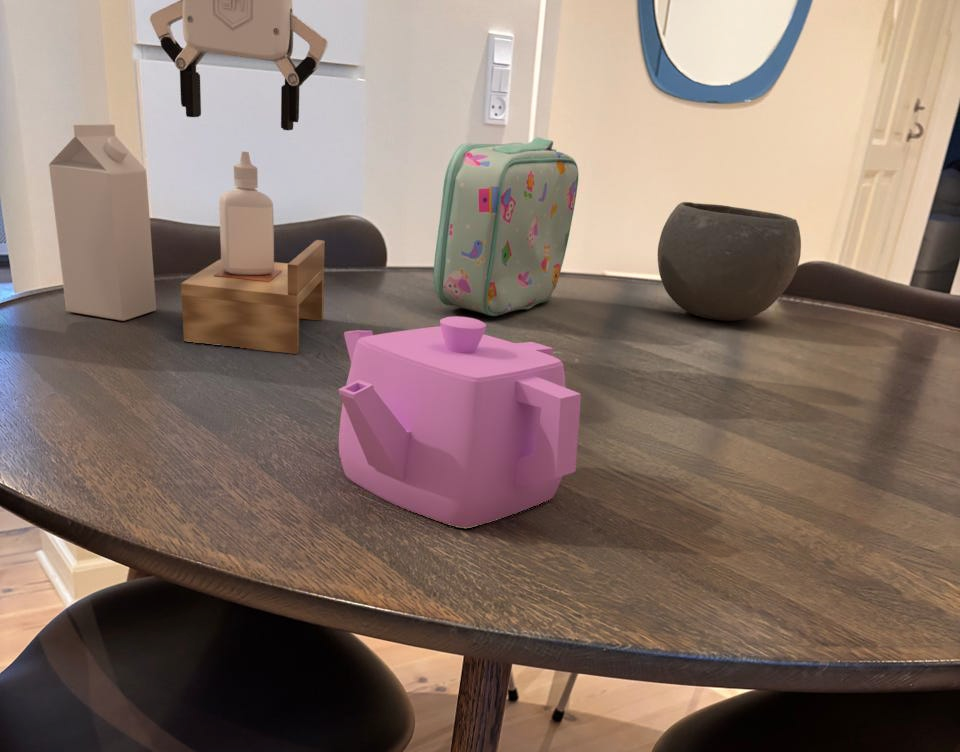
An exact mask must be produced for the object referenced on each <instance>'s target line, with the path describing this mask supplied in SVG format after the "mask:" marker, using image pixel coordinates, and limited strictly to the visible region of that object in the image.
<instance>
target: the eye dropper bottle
mask: <svg viewBox="0 0 960 752" xmlns="http://www.w3.org/2000/svg"><path fill="white" fill-rule="evenodd" d="M233 180H234V181H233V186H234V187H235V188H234V189H231V190H228V191H225V192H223V193H222V194H221V195H220V197H219V201H218V202H219V206H218V208H219V209H218V211H219V237H220V238H219V240H220V242H219V243H220V259H221V266H222V269H223V270H224V271H226V272H227V273H230V274H235V275H267V274H272V273H273V272H274V262H275V227H274V226H275V225H274V224H275V221H274V220H275V218H274V216H275V215H274V203H273V201H272V199H271V197H270V196H268V195H266V194H265V193H263V192H261V191H259V190H257V189H258V187H259V186H258V185H259V182H258V167H257V166H255V165H254V164H253V163H252V162H251V156H250V153H249V151H241V155H240V161H239V162H238V163H236V164H234V165H233Z"/></svg>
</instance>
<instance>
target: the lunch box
mask: <svg viewBox="0 0 960 752" xmlns="http://www.w3.org/2000/svg"><path fill="white" fill-rule="evenodd" d="M553 145H554V140H550V139H545V138H541V137H539V136H535V137H534V138H533V139H532V140H531V141H530V142H527V143H523V142H509V143H473V142H467V143H461V144H459V145H458V146H457V148H456V149H455V151H454V152H453V154H452V156H451V157H450V160H449V162H448V165H447V167H446V171H445V175H444V176H445V177H444V180H443V187H442V198H441V205H440V213H439V214H440V215H439V223H438V231H437V235H436V236H437V237H436V245H435V254H434V261H433V262H434V263H433V285H434V291H435V294H436V297H437V298H438V300H439V301H440V302H441V303H442V304H444V305H446V306H453V307H457V308H460V309H463V310H467V311H472V312H475V313H476V312H477V313H481V314H484V315H486V316H490V317H497V316H500V315H501V316H502V315H504V314H507V313H510V312H515V311H519V310H525V311H527V310H530V309H532V308H533V307H535V306H537V305H538V304H541V303H546V302H547V301H548V300H549V299H551V297H552V294H553V292H554V291H555V290H556V287H557V286H558V282H559V278H560V275H561V271H562V268H563V263H564V260H565V256H566V252H567V248H568V247H567V246H568V244H569V243H568V242H569V238H570V233H571V227H572V222H573V217H574V211H575V205H576V200H577V192H578V186H579V168H578V164H577V162H576V160H575V159H574V158H573V157H572V156H571V155H568V154H567V153H564V152H561V151H557V149H556V148H553Z"/></svg>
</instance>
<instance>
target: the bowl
mask: <svg viewBox="0 0 960 752" xmlns="http://www.w3.org/2000/svg"><path fill="white" fill-rule="evenodd" d="M801 253H802V238H801V231H800V226H799V224H798V221H797V219H796V218H793V217H790V216H788V215H787V216H786V215H783V214H781V213H780V214H779V213H774V212H768V211H762V210H756V209H749V208H743V207H735V206H730V205H724V204H714V203H713V204H712V203H698V202H697V203H696V202H690V201H682V202H680V203H678V204H677V205H676V206H675V207H674V209H673V210H672V211H671V213H670V214H669V216H668V218H667V219H666V221H665V223H664V225H663V227H662V230H661V233H660V237H659V241H658V246H657V267H658V273H659V277H660V280H661V283H662V286H663V287H664V290H665V292H666V293H667V295H668V296H669V297H670V299H671V300H672V301H673V302H674V304H676V305H677V306H678V307H680V308H681V309H682V310H684V311H685V312H687V313H689V314H692V315H694V316H695V317H696V316H697V317H699V318H703V319H708V320H712V321H713V320H714V321H720V322H723V321H724V322H732V321H734V322H735V321H742V320H748V319H750V318H754V317H756V316H758V315H760V314H762V313H764V312H765V311H767V310H768V309H769V308H770V307H771V306H773V304H774V303H775V302H777V300H778V299H779V298H780V297H781V296H782V295H783V293H784V292H785V291H786V290H787V289H788V287H789V286H790V284H791V282H793V279H794V277H795V275H796V273H797V271H798V268H799V263H800V260H801Z"/></svg>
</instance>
